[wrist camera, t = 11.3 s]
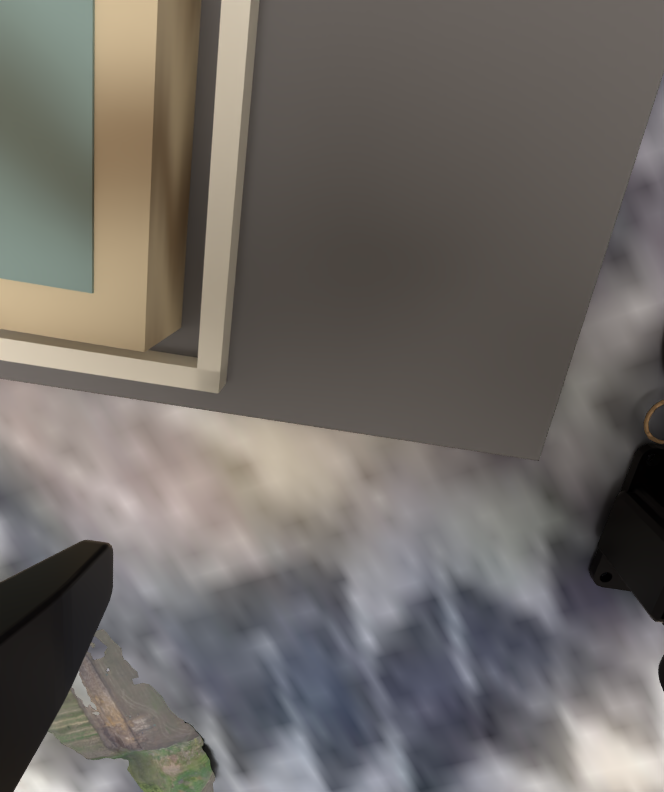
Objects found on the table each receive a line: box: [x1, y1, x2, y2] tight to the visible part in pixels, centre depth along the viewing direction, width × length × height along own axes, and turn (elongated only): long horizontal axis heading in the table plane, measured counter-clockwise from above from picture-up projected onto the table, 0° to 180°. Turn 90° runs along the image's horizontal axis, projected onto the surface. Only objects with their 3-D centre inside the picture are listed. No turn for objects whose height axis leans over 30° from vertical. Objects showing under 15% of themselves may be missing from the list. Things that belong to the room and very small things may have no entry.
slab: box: [0, 0, 201, 352], centre depth 15 cm, size 10×6×4 cm, turn 171°
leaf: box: [48, 629, 215, 792], centre depth 25 cm, size 20×8×1 cm, turn 25°
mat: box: [0, 0, 664, 461], centre depth 15 cm, size 24×22×2 cm
